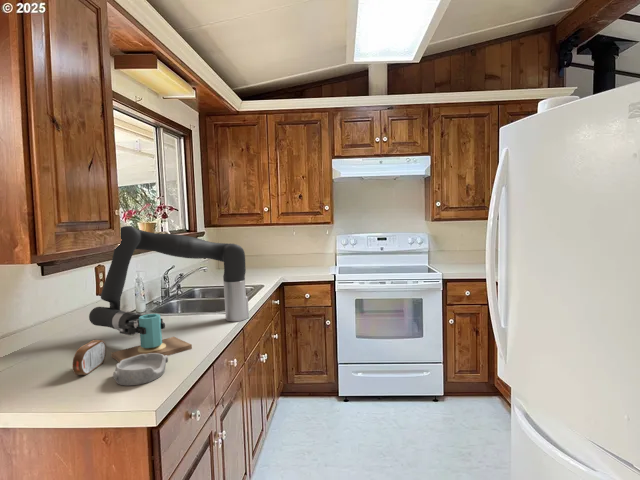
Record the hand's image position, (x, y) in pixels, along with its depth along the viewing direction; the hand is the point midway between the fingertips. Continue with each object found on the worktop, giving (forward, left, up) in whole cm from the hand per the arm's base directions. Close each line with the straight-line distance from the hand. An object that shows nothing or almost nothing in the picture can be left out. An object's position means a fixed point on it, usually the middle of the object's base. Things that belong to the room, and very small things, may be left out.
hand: (154, 328), depth 139 cm
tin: (+19, -2, -9) cm, 22 cm away
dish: (+11, +16, -9) cm, 22 cm away
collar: (0, -2, -6) cm, 6 cm away
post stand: (0, -2, -9) cm, 9 cm away
